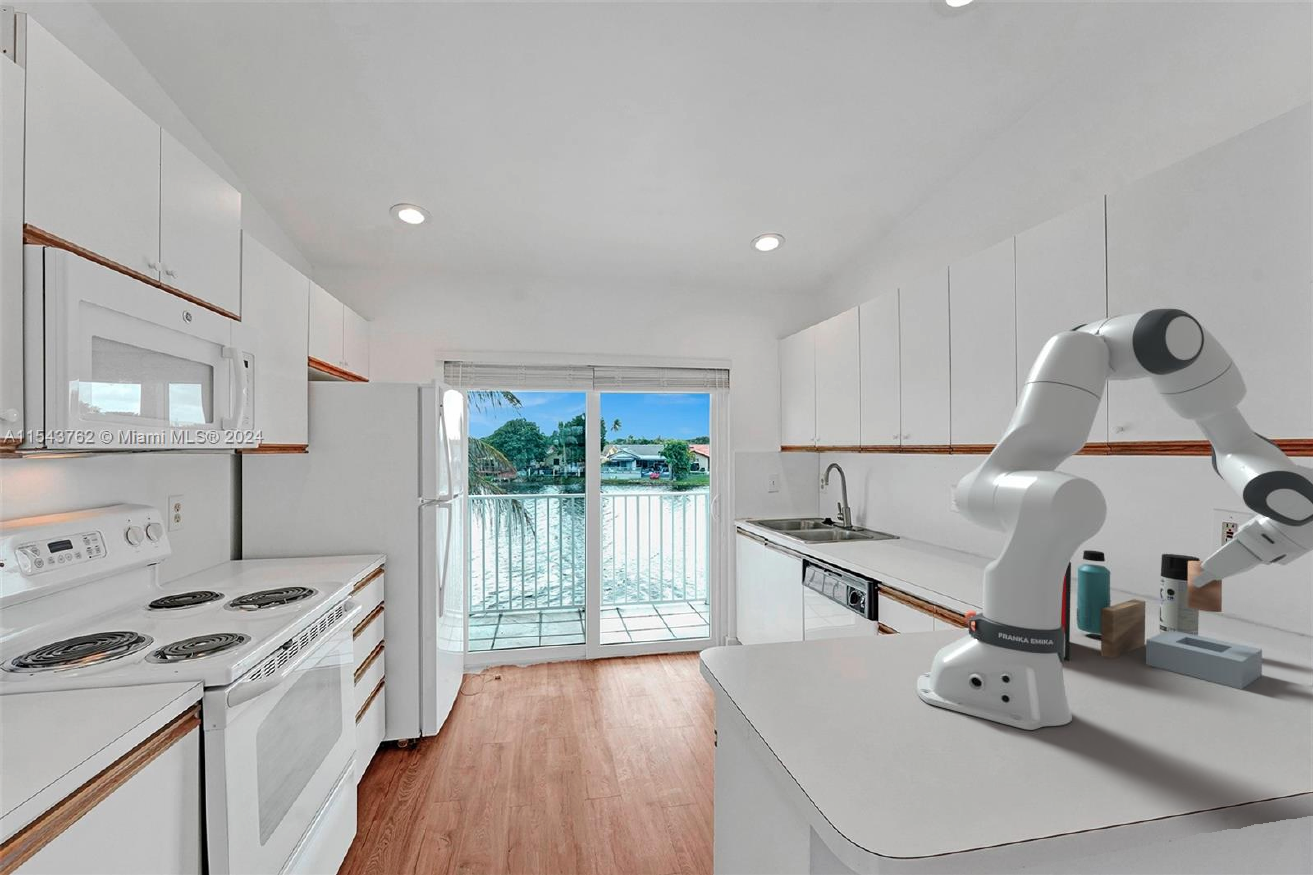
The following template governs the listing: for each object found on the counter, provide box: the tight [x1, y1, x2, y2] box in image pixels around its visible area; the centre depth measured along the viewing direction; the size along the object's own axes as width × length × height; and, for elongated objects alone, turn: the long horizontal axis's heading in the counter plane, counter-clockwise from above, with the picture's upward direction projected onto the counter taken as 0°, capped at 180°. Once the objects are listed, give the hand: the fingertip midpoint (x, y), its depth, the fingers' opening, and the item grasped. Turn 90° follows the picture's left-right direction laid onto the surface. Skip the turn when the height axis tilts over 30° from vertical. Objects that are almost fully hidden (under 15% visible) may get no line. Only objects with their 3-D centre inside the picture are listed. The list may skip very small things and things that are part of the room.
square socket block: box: [1145, 630, 1263, 690], centre depth 118 cm, size 14×14×5 cm
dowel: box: [1187, 560, 1223, 613], centre depth 118 cm, size 5×5×9 cm
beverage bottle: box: [1076, 549, 1112, 635], centre depth 139 cm, size 6×7×20 cm
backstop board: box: [1100, 598, 1146, 660], centre depth 129 cm, size 2×18×10 cm, turn 124°
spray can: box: [1158, 553, 1201, 636], centre depth 135 cm, size 7×7×20 cm
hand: (1200, 582), depth 118 cm, fingers closed on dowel, 5 cm apart
